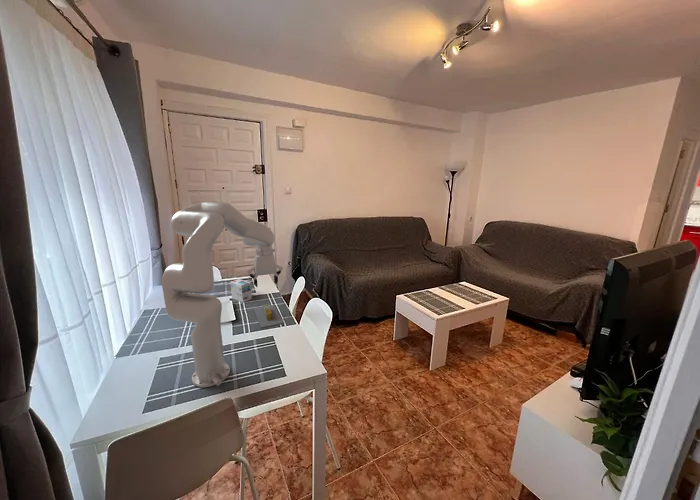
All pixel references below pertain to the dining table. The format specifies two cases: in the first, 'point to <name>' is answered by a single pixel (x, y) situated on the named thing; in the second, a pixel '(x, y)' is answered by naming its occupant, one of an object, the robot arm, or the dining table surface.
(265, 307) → the medication box
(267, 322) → the placemat
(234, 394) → the dining table surface
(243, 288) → the light bulb box
